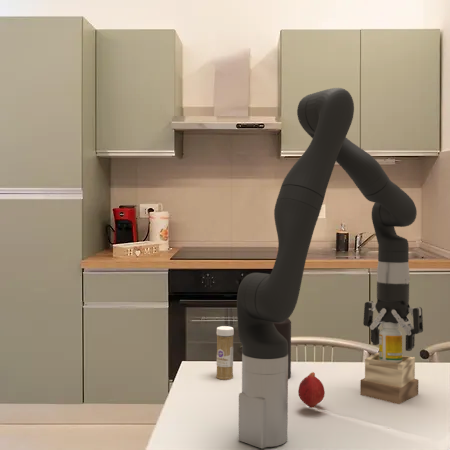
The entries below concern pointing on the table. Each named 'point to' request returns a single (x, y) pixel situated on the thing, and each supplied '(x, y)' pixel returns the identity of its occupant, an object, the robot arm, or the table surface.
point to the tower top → (390, 371)
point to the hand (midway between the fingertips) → (392, 347)
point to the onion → (311, 390)
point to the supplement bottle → (390, 343)
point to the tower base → (389, 391)
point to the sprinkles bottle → (225, 352)
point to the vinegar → (285, 331)
